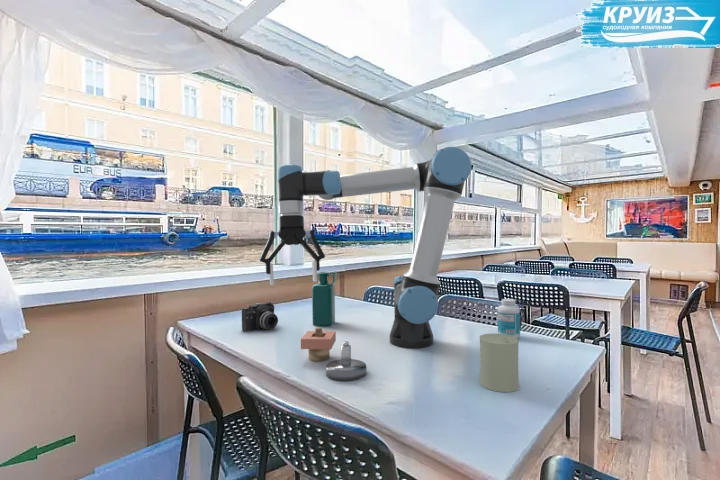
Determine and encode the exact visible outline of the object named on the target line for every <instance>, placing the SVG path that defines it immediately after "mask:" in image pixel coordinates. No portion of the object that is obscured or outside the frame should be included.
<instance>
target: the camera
mask: <svg viewBox="0 0 720 480" xmlns="http://www.w3.org/2000/svg"><path fill="white" fill-rule="evenodd" d="M278 322H279V318H278V316H277V314H275V305H274V304H273V302H272V301H266V302H265V303H262V302H259V303H258V302H257V303H255V304H254V305H253V304H252V305H251V304H248V306H247V307H242V309H241V330H242V332H245V331H246V332H249V331H250V332H251V331H254V330H258V328H259V329H265V330H272V329H274V328H275V327H277V325H278Z"/></svg>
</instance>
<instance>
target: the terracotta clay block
mask: <svg viewBox="0 0 720 480" xmlns="http://www.w3.org/2000/svg"><path fill="white" fill-rule="evenodd" d="M336 332H337V331H336V330H334V331H333V330H322V337H315V330H308V331H306V333H304V334H303V336H302V337H300V349H301V350H309V349H329V351H330V350H332V348H333V346H335V343H336V340H337V339H336V337H337V336H336V335H337V334H336Z"/></svg>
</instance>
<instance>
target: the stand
mask: <svg viewBox="0 0 720 480" xmlns="http://www.w3.org/2000/svg"><path fill="white" fill-rule="evenodd" d="M314 331H315V337H322V331H323V327H315V328H314ZM330 358H331V357H330V350H329V349H308V359H309V360H310V361H313V362H323V361H326V360H329V359H330Z"/></svg>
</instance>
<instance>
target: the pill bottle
mask: <svg viewBox="0 0 720 480" xmlns="http://www.w3.org/2000/svg"><path fill="white" fill-rule="evenodd" d="M500 304H501V305H499V306H498V307H497V334H505V335H510V336H513V337H516V338H517V339H518V340H519V339H520V338H521V314H520V313H521V309H520V308H519V307H518V306H517V305H516V299H515V298H502V299H501V303H500Z"/></svg>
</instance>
